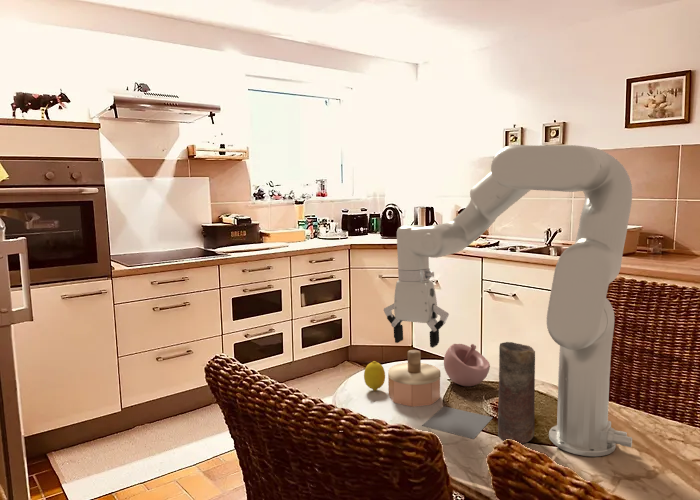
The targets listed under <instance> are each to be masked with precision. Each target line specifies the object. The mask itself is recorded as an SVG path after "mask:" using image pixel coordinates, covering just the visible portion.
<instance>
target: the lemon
mask: <svg viewBox="0 0 700 500" xmlns="http://www.w3.org/2000/svg"><path fill="white" fill-rule="evenodd" d="M363 378H364V383H365V385H366V386H367V387H368V388H370V389H372V391H374V392H375V391H377V390H378V389H380V388H381V387H382V386H384V384H385V381H386V380H385V379H386V372H385V369H384V366H383V365H382V364H381V363H379V362H377V361H376V360H373V361H372V362H370V363H368V364H367V365H366V367H365V369H364V371H363Z"/></svg>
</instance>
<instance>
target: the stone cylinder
mask: <svg viewBox="0 0 700 500" xmlns="http://www.w3.org/2000/svg"><path fill="white" fill-rule="evenodd" d="M498 347H499V351H498V352H499V353H498V354H499V355H498V357H499V359H498V363H499V364H498V365H499V367H498V369H499V370H498V400H497V401H498V402H497V404H498V408H497V409H498V411H497V437H498V438H499V439H500V440H502V441H504V440H506V439H512V440H515V441H517V442H520V443H519V444H525V443H528V442H529V441H532V440H533V438H534V436H535V411H536V409H535V405H536V404H535V402H536V401H535V398H536V397H535V394H536V392H535V387H536V386H535V385H536V381H535V380H536V379H535V378H536V351H535V350H534V348H533V347H532V346H531V345H527V344H522V343H516V342H513V341H512V342H511V341H506V342H501V343H500V344H499V346H498ZM504 442H505V441H504Z"/></svg>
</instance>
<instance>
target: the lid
mask: <svg viewBox="0 0 700 500" xmlns="http://www.w3.org/2000/svg"><path fill="white" fill-rule="evenodd" d="M421 357H422V356H421V350H417V349H410V350H408V351H407V362H402V363H397V364H394V365H392V366H390V367H389V368H388V370H387V372H388V376H389V378H390V379H392V380H393V381H396V382H399V383H403V384H410V385H422V384H429V383H433V382H435V381H437V380H439V379H440V380H441V377H442V376H441V373H442V372H441V370H440V368H438V367H437V366H436V365H435V366H434V365H432V364H429V363H424V362H422V361H421V360H422V359H421Z"/></svg>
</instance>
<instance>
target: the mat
mask: <svg viewBox="0 0 700 500" xmlns="http://www.w3.org/2000/svg"><path fill="white" fill-rule="evenodd" d="M492 419H494V418H493V416H489V415H486V414H485V415H484V414H480V413H476V412H471V411H466V410H462V409H458V408H454V407H448V406H445V405H444V406H442V407H441V408H440V409H439V410H438V411H437V412H436V413H434V414H433V415H432V416H431V417H429V419H427V420H426V421H425V422H424V423H423V424H422V425H421V427H425V428H428V429H433V430H437V431H440V432H444V433H448V434H453V435H456V436H460V437H464V438H467V439H472V440H475V438H476V437H477V436H478V435H479V434H480V433H481V432H482V431H483V430H484V428H486V426H487V425H488V423H490V422H491V421H492Z"/></svg>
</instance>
